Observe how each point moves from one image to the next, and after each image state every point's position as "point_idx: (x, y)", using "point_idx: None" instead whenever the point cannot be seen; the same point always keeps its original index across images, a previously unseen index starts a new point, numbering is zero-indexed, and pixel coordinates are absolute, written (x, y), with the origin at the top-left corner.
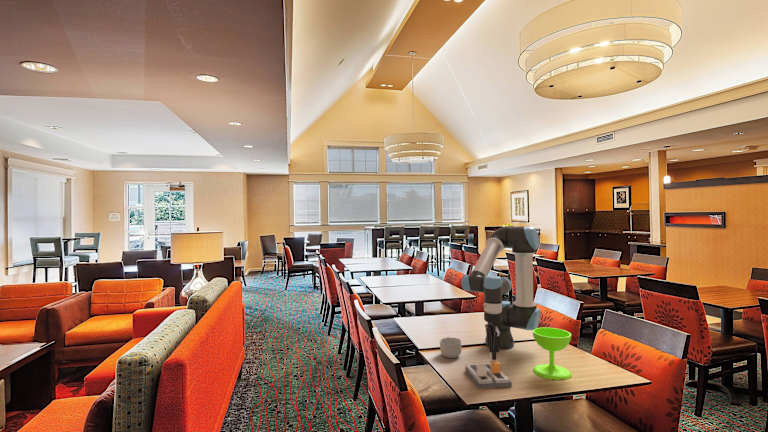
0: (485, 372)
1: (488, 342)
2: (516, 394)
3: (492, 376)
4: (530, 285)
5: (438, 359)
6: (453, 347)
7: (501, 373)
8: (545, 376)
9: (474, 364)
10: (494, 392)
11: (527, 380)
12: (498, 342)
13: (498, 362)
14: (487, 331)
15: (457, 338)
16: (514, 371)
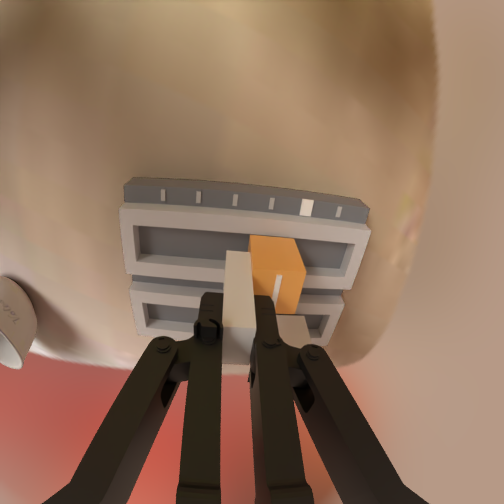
0: (306, 332)
1: (168, 406)
2: (415, 220)
3: (305, 286)
4: None
5: (52, 342)
6: (20, 340)
7: (290, 229)
8: None
9: (140, 306)
10: (367, 289)
11: (316, 70)
12: (364, 437)
13: (281, 275)
14: (128, 496)
15: None
16: (173, 73)
